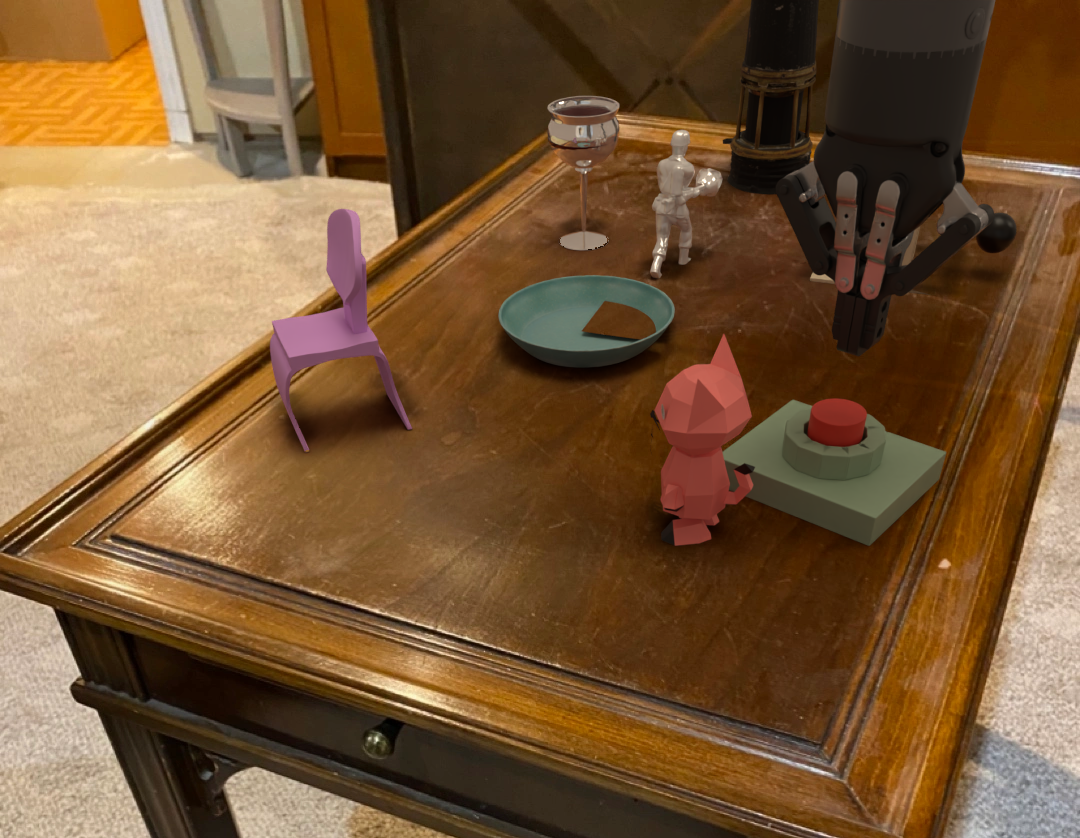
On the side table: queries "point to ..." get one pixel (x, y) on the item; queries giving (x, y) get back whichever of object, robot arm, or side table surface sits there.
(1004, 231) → the lever
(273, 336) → the toy chair
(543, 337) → the saucer
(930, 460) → the button block
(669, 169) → the figurine
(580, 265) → the side table surface
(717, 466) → the cat figurine
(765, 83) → the lantern
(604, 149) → the wineglass
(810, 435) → the button
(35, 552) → the side table surface
